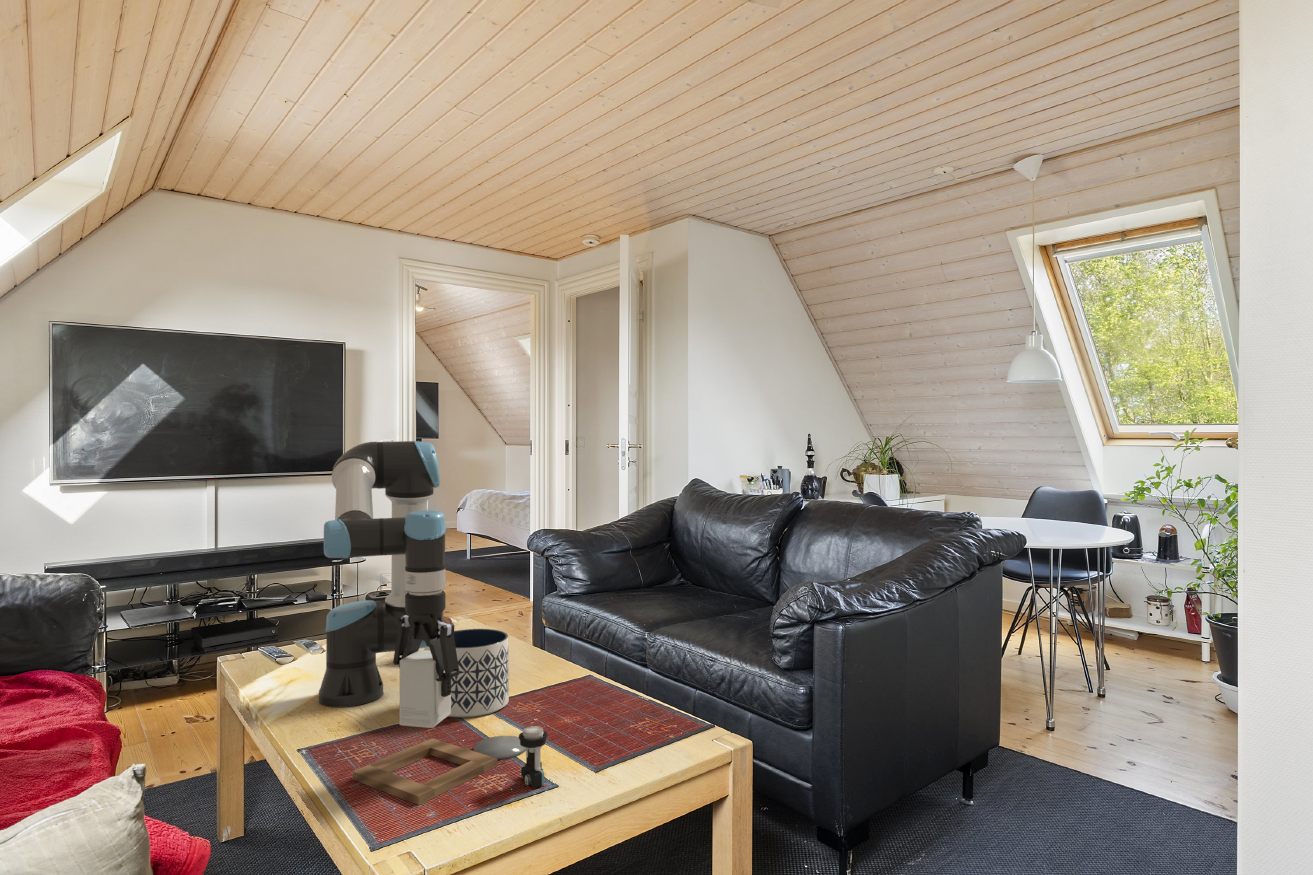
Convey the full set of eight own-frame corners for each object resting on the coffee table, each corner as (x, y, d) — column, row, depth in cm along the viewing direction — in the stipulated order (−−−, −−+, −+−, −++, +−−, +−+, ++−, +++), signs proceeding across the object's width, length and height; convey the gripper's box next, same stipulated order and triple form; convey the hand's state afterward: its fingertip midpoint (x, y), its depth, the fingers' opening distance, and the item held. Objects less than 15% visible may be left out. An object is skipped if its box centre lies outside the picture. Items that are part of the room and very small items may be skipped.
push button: (509, 780, 142) (509, 727, 142) (533, 771, 146) (533, 720, 146) (529, 792, 137) (528, 737, 137) (553, 783, 141) (553, 729, 141)
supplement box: (434, 728, 142) (433, 661, 142) (398, 725, 143) (397, 659, 143) (452, 714, 149) (452, 650, 149) (418, 711, 151) (417, 648, 151)
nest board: (352, 779, 143) (352, 771, 143) (432, 745, 159) (432, 738, 159) (418, 804, 133) (418, 796, 133) (497, 765, 149) (497, 758, 149)
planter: (470, 724, 171) (469, 651, 171) (415, 709, 180) (415, 641, 181) (524, 700, 186) (524, 634, 186) (471, 688, 196) (471, 625, 196)
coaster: (462, 751, 155) (462, 748, 155) (500, 734, 165) (500, 731, 165) (500, 764, 149) (500, 761, 149) (538, 745, 159) (538, 742, 159)
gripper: (373, 588, 149) (373, 701, 149) (448, 601, 137) (448, 725, 137) (404, 581, 155) (405, 690, 155) (479, 594, 143) (479, 712, 143)
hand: (425, 706), depth 146 cm, fingers closed on supplement box, 9 cm apart
